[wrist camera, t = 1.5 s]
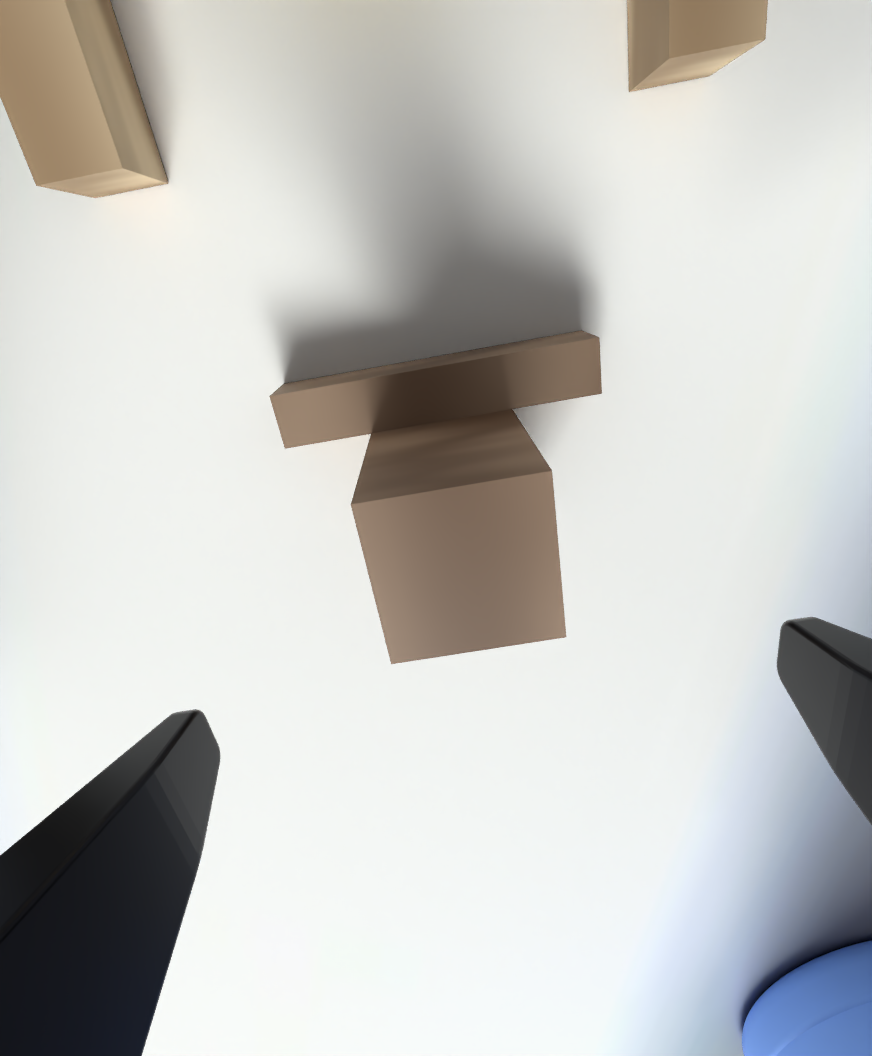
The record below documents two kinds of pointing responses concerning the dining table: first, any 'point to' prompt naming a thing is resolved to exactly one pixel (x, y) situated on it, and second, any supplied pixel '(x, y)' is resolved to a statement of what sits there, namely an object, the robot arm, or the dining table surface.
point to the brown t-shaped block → (453, 488)
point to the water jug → (816, 1009)
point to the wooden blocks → (121, 121)
